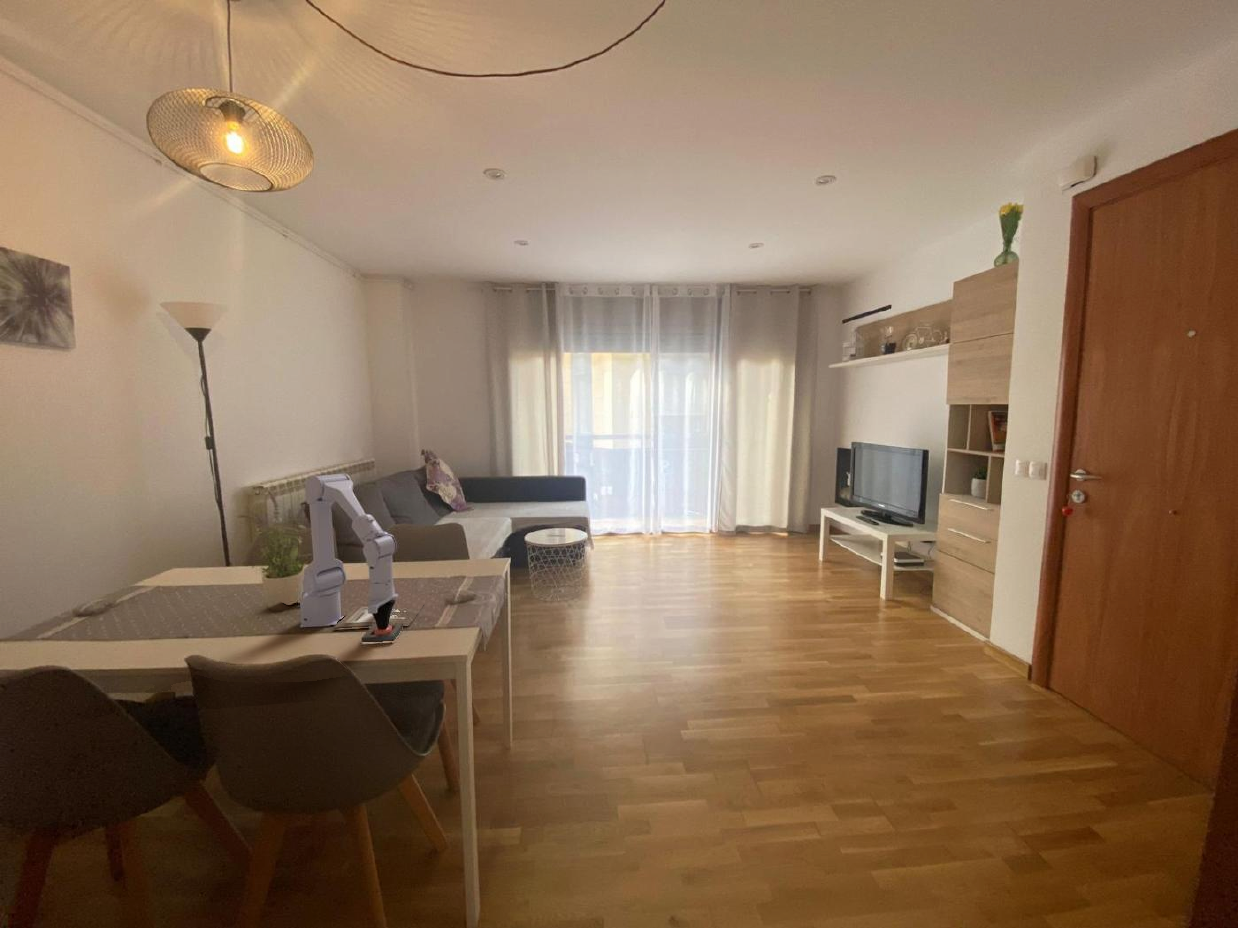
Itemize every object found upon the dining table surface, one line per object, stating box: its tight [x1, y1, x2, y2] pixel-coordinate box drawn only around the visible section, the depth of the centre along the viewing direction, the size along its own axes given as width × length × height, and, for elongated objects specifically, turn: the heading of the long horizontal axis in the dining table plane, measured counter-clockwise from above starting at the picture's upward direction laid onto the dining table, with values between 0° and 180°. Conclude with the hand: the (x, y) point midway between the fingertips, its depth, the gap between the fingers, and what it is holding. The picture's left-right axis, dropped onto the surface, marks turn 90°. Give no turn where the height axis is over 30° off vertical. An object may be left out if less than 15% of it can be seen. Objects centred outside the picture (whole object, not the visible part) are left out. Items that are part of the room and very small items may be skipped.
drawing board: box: [333, 604, 406, 630], centre depth 138 cm, size 20×16×1 cm
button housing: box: [361, 623, 404, 643], centre depth 125 cm, size 8×8×2 cm
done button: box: [374, 625, 392, 635], centre depth 125 cm, size 4×4×2 cm
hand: (383, 628), depth 125 cm, fingers closed, pressing on done button
